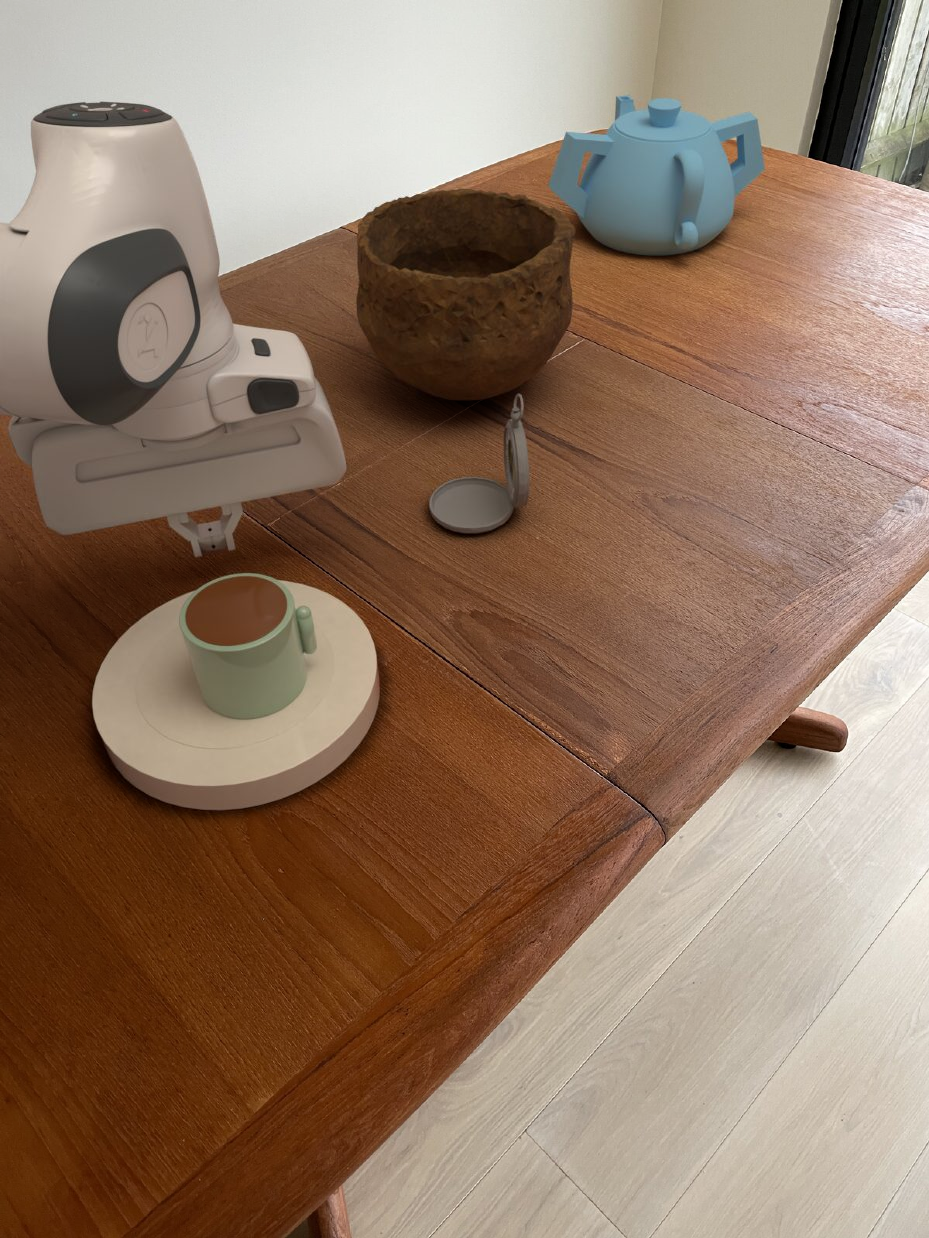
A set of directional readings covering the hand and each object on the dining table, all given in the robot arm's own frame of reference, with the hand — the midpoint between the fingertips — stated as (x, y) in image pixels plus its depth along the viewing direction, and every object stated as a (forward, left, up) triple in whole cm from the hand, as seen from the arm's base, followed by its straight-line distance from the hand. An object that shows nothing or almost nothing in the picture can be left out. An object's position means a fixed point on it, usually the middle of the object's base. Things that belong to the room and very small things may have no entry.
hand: (214, 549), depth 73 cm
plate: (0, -12, -3) cm, 13 cm away
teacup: (+1, -13, 0) cm, 13 cm away
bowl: (+25, +21, -3) cm, 33 cm away
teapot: (+55, +48, -3) cm, 73 cm away
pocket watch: (+21, +2, -3) cm, 21 cm away
